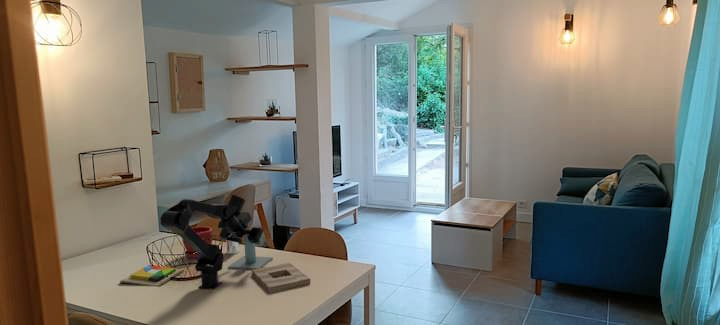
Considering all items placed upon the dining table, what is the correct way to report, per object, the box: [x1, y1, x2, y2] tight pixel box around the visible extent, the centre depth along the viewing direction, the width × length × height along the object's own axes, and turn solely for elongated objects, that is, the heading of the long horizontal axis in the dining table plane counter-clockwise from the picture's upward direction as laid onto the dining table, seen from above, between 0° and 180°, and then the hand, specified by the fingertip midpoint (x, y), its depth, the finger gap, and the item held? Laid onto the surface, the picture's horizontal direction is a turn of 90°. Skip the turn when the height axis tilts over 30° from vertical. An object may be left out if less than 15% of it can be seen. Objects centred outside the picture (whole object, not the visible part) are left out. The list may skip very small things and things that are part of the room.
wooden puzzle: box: [119, 263, 185, 287], centre depth 204 cm, size 18×19×4 cm
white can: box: [225, 240, 241, 255], centre depth 232 cm, size 7×7×15 cm
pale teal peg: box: [243, 235, 257, 264], centre depth 215 cm, size 4×4×12 cm
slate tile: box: [227, 255, 274, 271], centre depth 216 cm, size 14×14×1 cm
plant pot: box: [182, 226, 213, 259], centre depth 230 cm, size 13×13×12 cm
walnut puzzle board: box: [251, 262, 311, 293], centre depth 196 cm, size 22×16×2 cm
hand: (250, 243), depth 215 cm, fingers open, 9 cm apart
